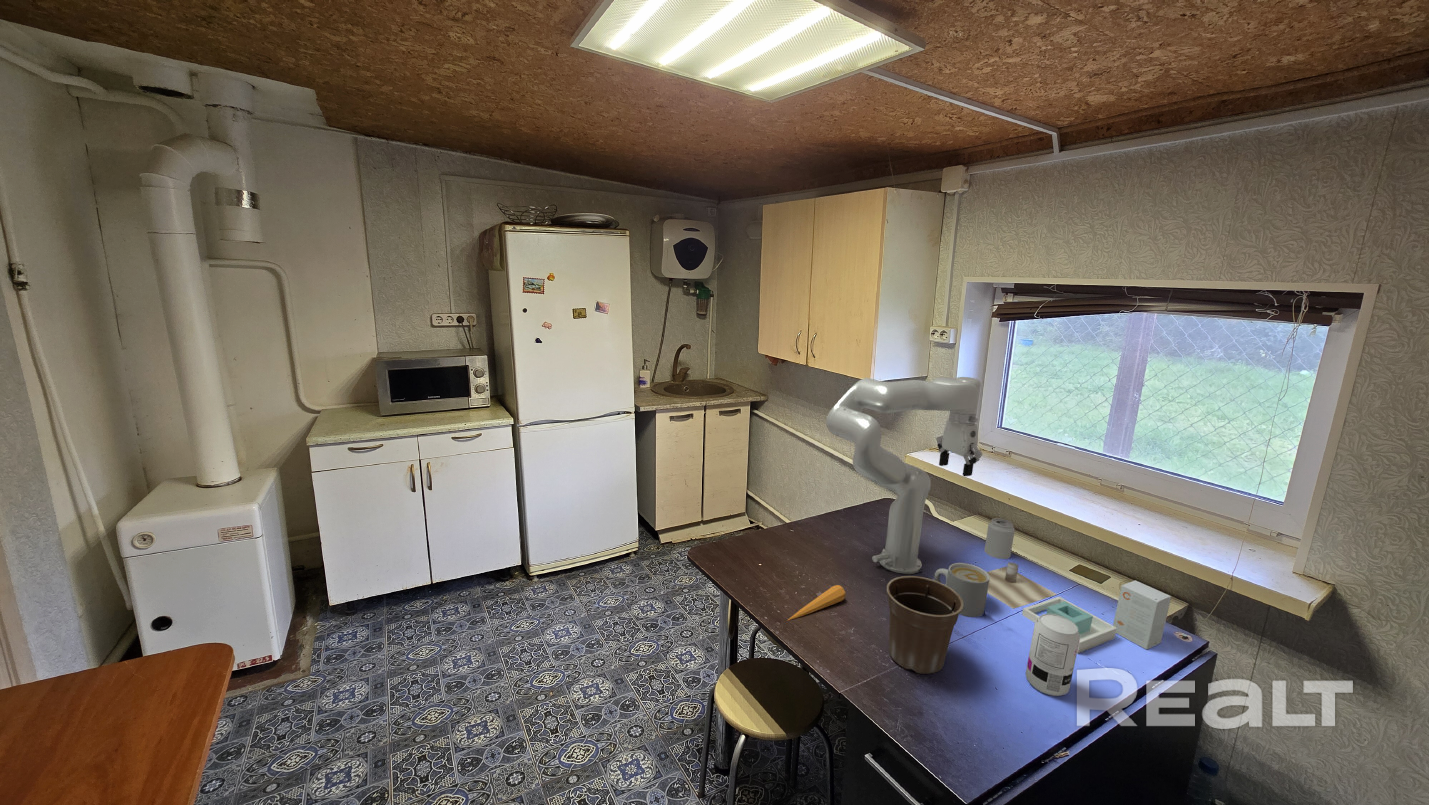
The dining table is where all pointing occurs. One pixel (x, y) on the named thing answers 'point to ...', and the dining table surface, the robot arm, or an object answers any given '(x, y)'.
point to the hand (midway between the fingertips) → (954, 470)
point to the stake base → (1015, 587)
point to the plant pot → (921, 622)
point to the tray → (1089, 639)
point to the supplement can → (1052, 654)
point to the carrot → (822, 601)
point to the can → (999, 538)
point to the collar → (1072, 615)
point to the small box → (1141, 614)
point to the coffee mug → (967, 586)
